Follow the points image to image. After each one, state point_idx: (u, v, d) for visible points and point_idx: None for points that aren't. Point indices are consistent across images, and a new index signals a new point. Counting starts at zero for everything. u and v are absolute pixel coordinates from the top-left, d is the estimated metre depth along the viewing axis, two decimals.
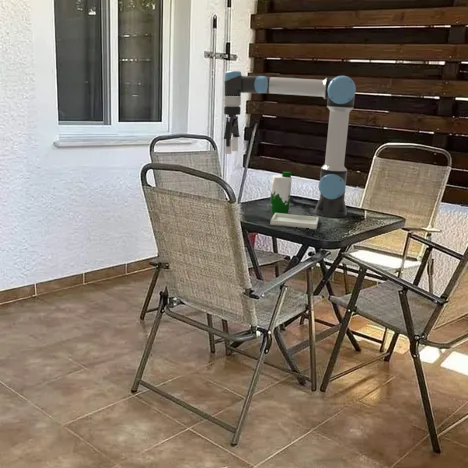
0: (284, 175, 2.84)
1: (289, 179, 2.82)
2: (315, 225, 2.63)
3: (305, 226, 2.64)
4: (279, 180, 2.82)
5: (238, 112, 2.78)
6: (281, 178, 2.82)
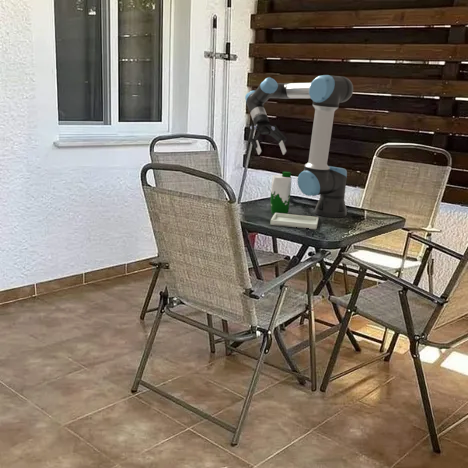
0: (284, 175, 2.84)
1: (289, 179, 2.82)
2: (315, 225, 2.63)
3: (305, 226, 2.64)
4: (279, 180, 2.82)
5: (261, 118, 2.97)
6: (281, 178, 2.82)
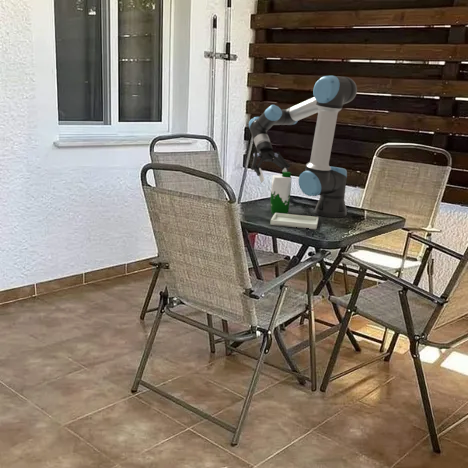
0: (284, 175, 2.84)
1: (289, 179, 2.82)
2: (315, 225, 2.63)
3: (305, 226, 2.64)
4: (279, 180, 2.82)
5: (264, 145, 2.96)
6: (281, 178, 2.82)
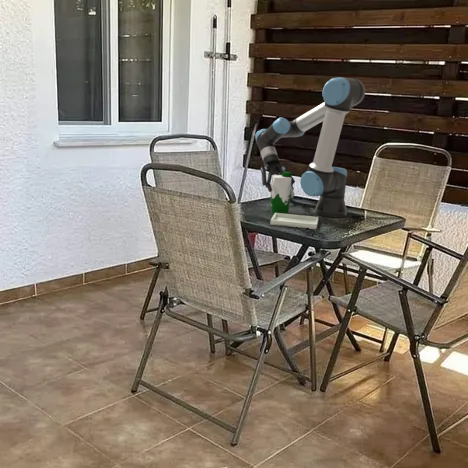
0: (284, 175, 2.84)
1: (289, 179, 2.82)
2: (315, 225, 2.63)
3: (305, 226, 2.64)
4: (279, 180, 2.82)
5: (271, 158, 2.91)
6: (281, 178, 2.82)
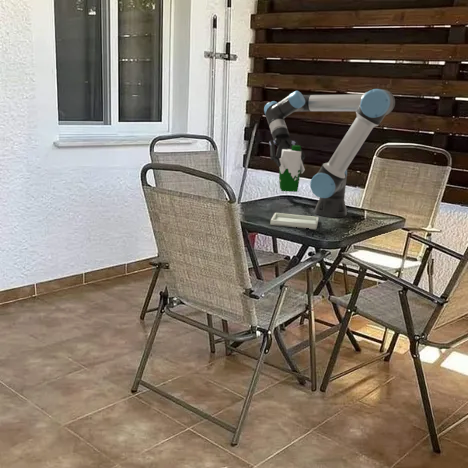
0: (293, 149, 2.68)
1: (299, 153, 2.67)
2: (315, 225, 2.63)
3: (305, 226, 2.64)
4: (288, 154, 2.66)
5: (280, 131, 2.75)
6: (290, 152, 2.66)
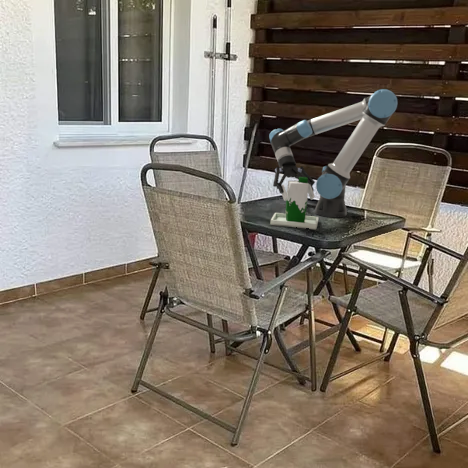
0: (301, 181, 2.67)
1: (306, 185, 2.65)
2: (315, 225, 2.63)
3: (305, 226, 2.64)
4: (295, 186, 2.65)
5: (286, 160, 2.72)
6: (297, 184, 2.64)
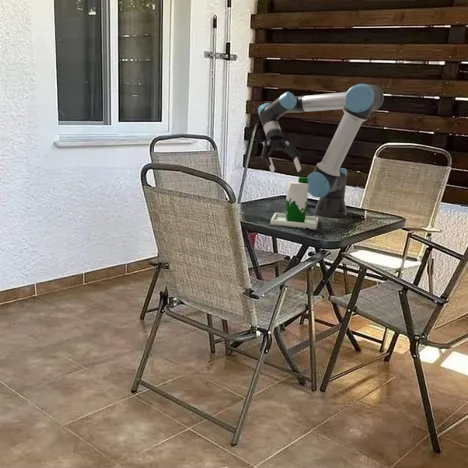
0: (301, 181, 2.67)
1: (306, 185, 2.65)
2: (315, 225, 2.63)
3: (305, 226, 2.64)
4: (295, 186, 2.64)
5: (274, 133, 2.81)
6: (297, 184, 2.64)
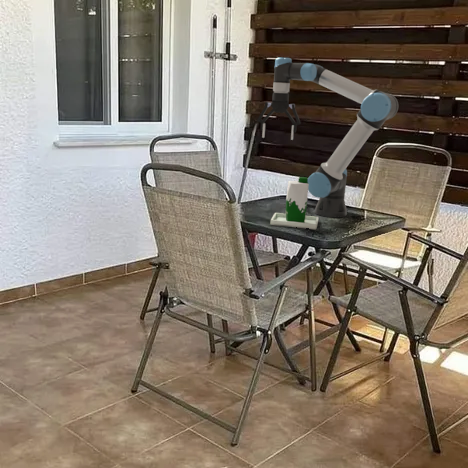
0: (301, 181, 2.67)
1: (306, 185, 2.65)
2: (315, 225, 2.63)
3: (305, 226, 2.64)
4: (295, 186, 2.64)
5: (276, 98, 2.81)
6: (297, 184, 2.64)
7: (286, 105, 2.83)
